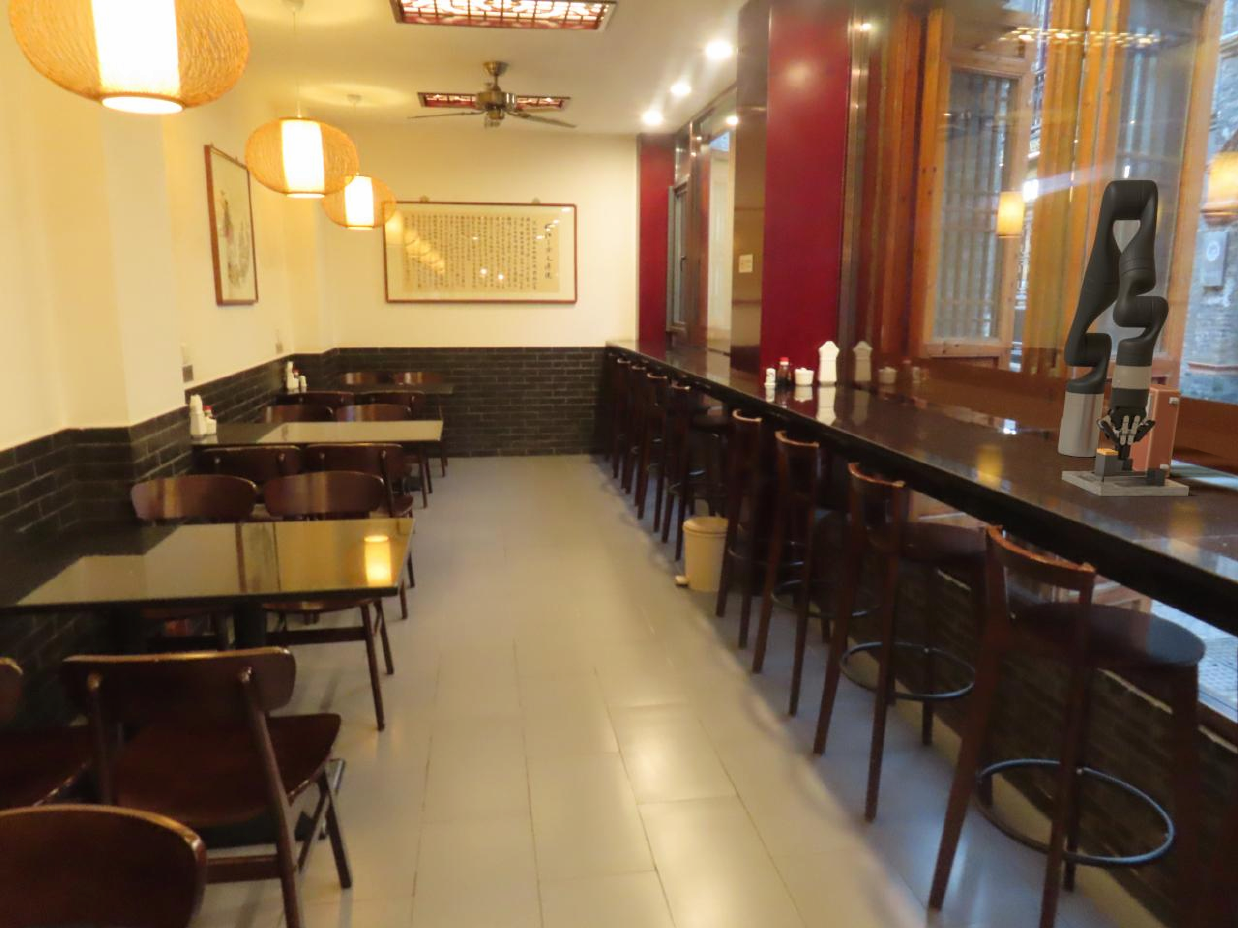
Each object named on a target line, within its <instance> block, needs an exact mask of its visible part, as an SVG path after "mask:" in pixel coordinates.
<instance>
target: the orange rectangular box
mask: <svg viewBox="0 0 1238 928" xmlns="http://www.w3.org/2000/svg"><path fill="white" fill-rule="evenodd" d="M1181 398H1182V390H1180V389H1177V388H1174V387H1171V386H1167V385H1164V384H1160V383H1155V384H1154V383H1150V390H1149V398H1148V405H1147V406H1146V412H1147V417H1148V418H1149V419H1150V420H1153V421H1155V422H1156V424H1155V425H1154V426H1153V427H1152V428H1151V430H1150V431H1149V432H1148V433H1147V434H1146V435H1145V436H1144V437H1143V438H1142V439H1141V440H1140V441H1139V442H1134V443H1132V444H1131V448H1130V456H1129V458H1132V459H1133V465H1132V470H1133V471H1148V468H1161V469H1164V470H1166V478H1169V477H1170V472H1171V465H1172V460H1173V459H1172V458H1173V451H1174V445H1175V439H1176V438H1175V437H1176V432H1177V424H1178V418H1179V416H1180V415H1179V413H1180V405H1181V403H1180V402H1181ZM1138 427H1139V426H1138ZM1138 427H1137V428H1138Z"/></svg>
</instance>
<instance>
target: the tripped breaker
mask: <svg viewBox="0 0 1238 928" xmlns="http://www.w3.org/2000/svg"><path fill="white" fill-rule="evenodd" d="M1117 457H1118V452H1117V451H1114V449H1111V448H1097V454H1096V456H1095V462H1094V470H1093V471H1094V474H1096V475H1099V476H1101V477H1102V476H1115V472H1116V465H1117Z"/></svg>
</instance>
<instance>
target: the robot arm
mask: <svg viewBox="0 0 1238 928" xmlns="http://www.w3.org/2000/svg"><path fill="white" fill-rule="evenodd" d="M1157 185H1158V184H1157V182H1155V181H1154V180H1151V179H1121V180H1120V179H1117V180H1111V181H1110V182H1108V183H1107V185H1106V187H1105V189H1104V191H1103V194H1102V197H1101V202H1100V206H1099V213H1098V219H1097V225H1096V229H1095V235H1094V240H1093V244H1092V248H1091V252H1090V255H1089V259H1088V263H1087V265H1086V269H1085V273H1084V276H1083V281H1082V284H1081V288H1080V294H1079V298H1078V301H1077V302H1078V304H1077V306H1076V309H1075V310H1076V312H1075V314H1074V318H1073V320H1072V324H1071V325H1070V328H1069V332H1068V334H1067V337H1066V340H1065V344H1064V348H1063V361H1064V363H1065V365H1066V366H1068V367H1075V368H1091V370H1090V371H1089V372H1087V373H1086V374H1084V375H1082V376H1080V377H1076V378H1073V379H1070V380H1068V381H1067V382H1066V387H1065V394H1064V395H1065V397H1064V406H1063V414H1062V417H1061V421H1060V430H1059V437H1058V438H1059V439H1058V447H1057V451H1058V453H1059V454H1061V455H1065V456H1071V457H1079V458H1093V457H1096V454H1097V449H1098V446H1099V445H1098V444H1099V440H1100V439H1099V437H1100V430H1101V432H1102V433H1103V435H1104V437H1105V438H1106V440H1108V441H1110V442H1113V443H1114V449H1113V450H1114V451H1117V452H1118V457H1117V460H1123V461H1124V460H1127V458H1129V456H1130V448H1131V444H1132V443H1134V442H1139V441H1140V440H1141V439H1142V438H1143V437H1144V436H1145V435H1146V434H1147V433H1148V432H1149V431H1150V430H1151V428H1152V427H1153V426H1154V425H1155V424H1156V422H1155V421H1153V420H1150V419H1149V418H1148V417H1147V412H1146V406H1147V405H1148V398H1149V390H1150V384H1152V383H1151V381H1152V365H1153V360H1154V359H1153V357H1154V350H1155V347H1156V346H1155V345H1156V343H1157V340H1158V337H1159V336H1160V333H1161V331H1162V328H1163V327H1164V325H1165V323H1166V321H1167V318H1168V315H1169V311H1170V306H1169V303H1168V300H1167V299H1166V298H1164V297H1163V296H1159V295H1144V294H1147V293H1150V292H1151V291H1153V290H1154V288H1156V286H1157V274H1156V273H1157V272H1156V262H1155V260H1156V259H1155V246H1156V245H1155V243H1156V233H1157V224H1158V223H1157V222H1158V209H1159V190H1158V189H1159V188H1158V186H1157ZM1116 221H1121V222H1122V221H1123V222H1124V221H1139V227H1138V229H1137V231H1136V233H1135V234H1134V236H1133V237H1132V238H1131V239H1130V241H1129V242H1128V243H1127V245H1126V246H1125V247H1124V249H1123V250H1122V251H1121V249H1120V247H1119V245H1118V243H1117V239H1116V238H1115V234H1114V226H1115V222H1116ZM1113 304H1115V305H1114V306H1113ZM1111 306H1113V311H1112V319H1113V322H1114V323H1115V324H1116V326H1118V327H1120V328H1129V329H1130V328H1131V329H1132V328H1133V329H1134V328H1137V329H1144V330H1143V332H1142V333H1141V334H1140V335H1138V336H1134V337H1128V338H1124V339H1121V340H1120V341H1119V342H1118V344H1117V349H1116V350H1117V351H1116V356H1115V357H1116V358H1115V365H1114V370H1113V374H1112V380H1111V386H1110V387H1111V388H1110V395H1109V409H1108V411H1107V413H1106V416H1104V417H1103V418H1102V413H1103V405H1104V397H1105V390H1106V384H1107V379H1108V374H1109V373H1108V372H1109V366H1110V362H1111V358H1112V357H1111V355H1112V352H1113V351H1112V349H1113V340H1112V337H1111V335H1110V334H1109V333H1107V332H1088V330H1089V329H1090V327H1091V325H1092V324H1093V323H1094V322H1095V320H1097V318H1098V317H1100V316H1101V315H1102V314H1103V313H1104V312H1105V311H1106V310H1109V308H1110V307H1111ZM1112 426H1113V428H1112ZM1138 426H1139V427H1138ZM1137 427H1138V428H1137Z"/></svg>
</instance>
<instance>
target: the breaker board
mask: <svg viewBox="0 0 1238 928" xmlns="http://www.w3.org/2000/svg"><path fill="white" fill-rule="evenodd" d="M1132 465H1133V459H1132V458H1127V460H1124V461H1123V460H1117V465H1116V472H1115V476H1102V477H1101V476H1099V475H1096V474H1094V470H1063V471H1062V475H1061V480H1063V481H1065V482H1067V483H1069V484H1072V485H1074V486H1077V487H1078V488H1081V489H1083V490H1085V491H1088V492H1090V493H1092V494H1093V495H1097V496H1100V497H1142V496H1143V497H1149V496H1150V497H1151V496H1152V497H1154V496H1157V497H1158V496H1159V497H1161V496H1163V497H1164V496H1165V497H1167V496H1168V497H1170V496H1174V497H1175V496H1177V497H1178V496H1179V497H1180V496H1184V497H1185V496H1189V492H1190V491H1189V489H1190V486H1189V485H1185V484H1183V483H1180V482H1177V481H1173V480H1172V479H1168V478H1167V477H1166V470H1164V469H1161V468H1148V471H1135V470H1133V469H1132Z"/></svg>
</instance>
